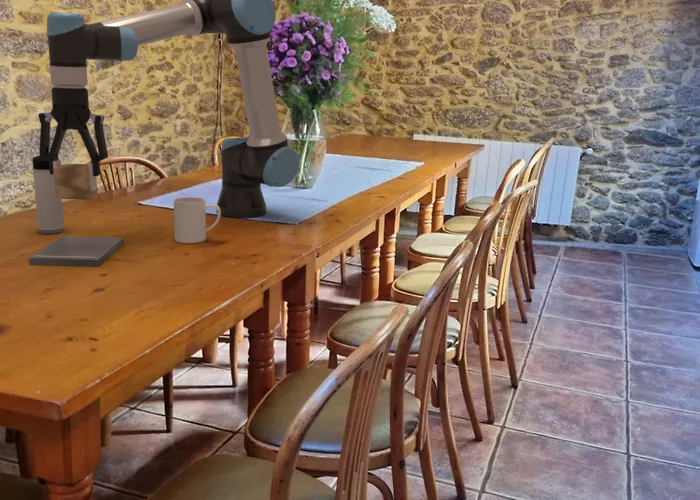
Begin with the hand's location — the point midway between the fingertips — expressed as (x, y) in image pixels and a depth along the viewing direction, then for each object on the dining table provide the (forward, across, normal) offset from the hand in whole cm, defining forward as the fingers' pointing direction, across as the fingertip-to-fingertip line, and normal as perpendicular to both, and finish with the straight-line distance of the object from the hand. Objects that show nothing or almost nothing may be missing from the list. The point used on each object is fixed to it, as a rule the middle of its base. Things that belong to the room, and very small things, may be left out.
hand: (76, 189), depth 157 cm
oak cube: (+2, 0, 0) cm, 2 cm away
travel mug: (+15, +14, -20) cm, 29 cm away
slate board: (+15, 0, 0) cm, 15 cm away
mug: (+15, -25, -15) cm, 33 cm away
